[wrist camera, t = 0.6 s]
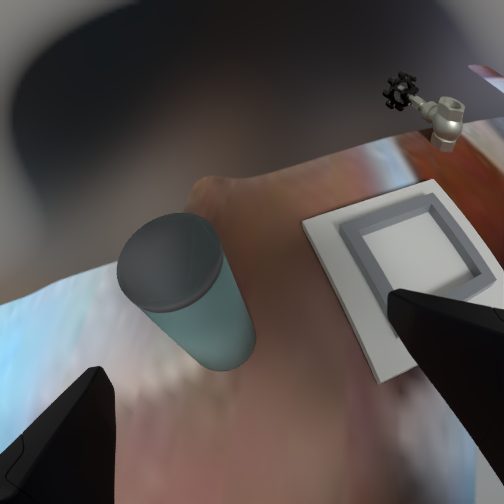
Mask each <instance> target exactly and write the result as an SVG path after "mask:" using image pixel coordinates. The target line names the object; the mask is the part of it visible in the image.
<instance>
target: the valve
mask: <svg viewBox="0 0 504 504" xmlns="http://www.w3.org/2000/svg"><path fill="white" fill-rule="evenodd" d="M398 76H399V77H398V79H395V78H393V77H390V78H389V79H388V83H389V84H390V85H391V87H390V89H389V90H387V89H385V90H384V91H383V95H384V96H385V97H386V98H388V99H389V100H388V101H387V102H386V106H388V107H389V108H390V109H393V108H394V107H393V104H395V108H396V109H397V110H399V111H402V110H403V109H404V107H406V106H408V105H412V106H413V107H415V108H416V109H418V110H420V111H421V112H422V118H423V119H424V120H426V121H427V122H428V123H432V126H433V130H434V131H433V133H432V137H431V141H430V143H431V144H432V145H434V146H435V147H436V148H437V149H438V150H439V151H445V152H453V149H454V146H455V143H456V139H458V138H459V136H460V135H461V133H462V128H463V124H462V117H463V113H464V109H465V106H464V105H463V104H462V103H461V102H459V101H457V100H455V99H453V98H450V97H441V99H440V100H439V104H438V105H437V104H436V103H435V102H432V101H431V102H428V103H426V101H424V100H423V99H421V98H420V97H418V96H415V94H416V93H417V92H418V90H419V89H418V87H416V86H415V85H414V84H412V81H414V82H416V77H415V76H413V75H411V74H409V75H408V74H407V73H405V72H404V71H399V73H398ZM405 76H407V78H405ZM402 82H406V83H407V86H408V88H406V87H403V86H399V87H398V88H397V86H398V85H399V84H400V83H402ZM394 91H396V94H397V95H398V96H399V97H400V98H401V99H400V100H395V98H394Z"/></svg>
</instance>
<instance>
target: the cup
mask: <svg viewBox="0 0 504 504" xmlns="http://www.w3.org/2000/svg"><path fill="white" fill-rule="evenodd" d="M117 279H118V283H119V286H120V288H121V290H122V291H123V293H124V294H125V295H126V296H127V297H128V298H129V299H130V300H131V301H132V302H133V303H134V304H135V305H136V306H138V307H139V308H140V309H141V310H142V311H143V312H144V313H145V314H146V315H147V316H148V317H149V318H150V319H151V320H152V321H153V322H154V323H156V324H157V325H158V326H159V327H160V328H161V329H162V330H163V331H164V332H165V333H166V334H167V335H168V336H169V337H170V338H172V339H173V340H174V341H175V342H176V343H177V344H178V345H179V346H180V347H181V348H183V349H184V350H185V351H186V352H187V353H188V354H189V355H190V356H192V357H193V358H194V359H195V360H196V361H197V362H198V363H200V364H201V365H202V366H204V367H205V368H207V369H210V370H213V371H228V370H232V369H234V368H237V367H238V366H240V365H242V364H243V363H244V362H245V361H246V360H247V359H248V358H249V357H250V355H251V354H252V352H253V350H254V347H255V343H256V332H255V328H254V326H253V323H252V321H251V318H250V316H249V314H248V311H247V309H246V306H245V304H244V301H243V299H242V296H241V294H240V291H239V289H238V286H237V284H236V281H235V279H234V277H233V274H232V271H231V269H230V266H229V264H228V261H227V259H226V256H225V254H224V251H223V247H222V243H221V241H220V238H219V236H218V233H217V231H216V230H215V228H214V227H213V226H212V224H211V223H209V222H208V221H207V220H205V219H204V218H202V217H200V216H197V215H194V214H189V213H173V214H168V215H164V216H161V217H159V218H156V219H154V220H152V221H150V222H148V223H147V224H145V225H144V226H142V227H141V228H140V229H139V230H137V231H136V232H135V233H134V234H133V235H132V237H131V238H130V239H129V240H128V242H127V243H126V244H125V246H124V248H123V250H122V252H121V254H120V257H119V260H118V265H117Z"/></svg>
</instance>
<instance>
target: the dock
mask: <svg viewBox="0 0 504 504" xmlns="http://www.w3.org/2000/svg"><path fill="white" fill-rule="evenodd" d="M302 228H303V230H304V232H305V233H306V235H307V237H308V239H309V241H310V243H311V245H312V247H313V249H314V251H315V253H316V255H317V257H318V259H319V261H320V263H321V265H322V267H323V269H324V271H325V273H326V275H327V277H328V279H329V281H330V283H331V285H332V287H333V289H334V291H335V293H336V295H337V297H338V299H339V301H340V303H341V305H342V307H343V309H344V312H345V314H346V316H347V318H348V320H349V322H350V324H351V326H352V329H353V331H354V333H355V335H356V337H357V339H358V341H359V344H360V346H361V348H362V350H363V352H364V355H365V357H366V359H367V361H368V364H369V366H370V368H371V370H372V373H373V375H374V377H375V379H376V382H377V384H378V385H379V384H381V383H383V382H385V381H388V380H390V379H392V378H394V377H396V376H398V375H400V374H402V373H404V372H406V371H408V370H409V369H411V368H413V367H415V366H417V365H418V364H417V363H416V362H415V361H414V359H413V358H412V357H411V355H410V354H409V352H408V351H407V349H406V348H405V346H404V344H403V343H402V341H401V340H400V338H399V336H398V335H397V333H396V332H395V330H394V328H393V327H392V325H391V324H390V322H389V320H388V317H387V297H388V293H389V292H390V291H393V290H396V289H398V288H402V289H406V290H411V291H416V292H421V293H426V294H431V295H436V296H441V297H445V298H450V299H455V300H460V301H465V302H470V303H475V304H480V305H485V306H490V307H492V308H493V307H495V308H500V309H504V271H503V269H502V268H501V266H500V265H499V263H498V262H497V260H496V259H495V257H494V256H493V254H492V253H491V251H490V250H489V249H488V247H487V246H486V244H485V243H484V242H483V240H482V239H481V237H480V236H479V235H478V233H477V232H476V231H475V229H474V228H473V227H472V225H471V224H470V223H469V221H468V220H467V219H466V217H465V216H464V215H463V214H462V212H461V211H460V210H459V209H458V207H457V206H456V205H455V204H454V203H453V201H452V200H451V199H450V198H449V196H448V195H447V194H446V193H445V192H444V191H443V189H442V188H441V187H440V186H439V185H438V184H437V183H436V181H435V180H434V179H431V180H428V181H425V182H422V183H419V184H415V185H412V186H409V187H406V188H403V189H400V190H396V191H393V192H390V193H387V194H384V195H381V196H378V197H374V198H371V199H368V200H365V201H362V202H359V203H356V204H353V205H350V206H347V207H343V208H340V209H337V210H334V211H331V212H328V213H325V214H322V215H319V216H316V217H313V218H310V219H307V220H304V221H302Z"/></svg>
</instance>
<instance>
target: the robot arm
mask: <svg viewBox="0 0 504 504" xmlns="http://www.w3.org/2000/svg"><path fill="white" fill-rule="evenodd" d="M387 317H388V320H389V322H390V324H391V325H392V327H393V328H394V330H395V332H396V333H397V335H398V336H399V338H400V340H401V341H402V343H403V344H404V346H405V348H406V349H407V351H408V352H409V354H410V355H411V357H412V358H413V359H414V361H415V362H416V363H417V364H418V366H419V367H420V368H421V370H422V371H423V372H424V373H425V375H426V376H427V377H428V379H429V380H430V381H431V383H432V384H433V385H434V387H435V388H436V389H437V391H438V392H439V393H440V395H441V396H442V397H443V399H444V400H445V401H446V403H447V404H448V405H449V407H450V408H451V410H452V411H453V412H454V414H455V415H456V416H457V418H458V419H459V421H460V422H461V423H462V425H463V426H464V428H465V429H466V430H467V432H468V433H469V435H470V436H471V437H472V439H473V440H474V442H475V443H476V445H477V446H478V447H479V449H480V451H481V452H482V454H483V455H484V457H485V458H486V460H487V461H488V463H489V464H490V466H491V467H492V468H493V470H494V472H495V473H496V475H497V476H498V478H499V479H500V481H501V482H502V484H503V486H504V309H500V308H495V307H493V308H492V307H490V306H485V305H480V304H475V303H470V302H465V301H460V300H455V299H450V298H445V297H441V296H436V295H431V294H426V293H421V292H416V291H411V290H406V289H402V288H398V289H396V290H393V291H390V292H389V293H388V297H387ZM115 449H116V417H115V391H114V387H113V385H112V383H111V382H110V380H109V378H108V376H107V374H106V373H105V371H104V369H103V368H102V367H101V366H96V367H90V368H88V369H87V370H86V371H85V372H84V373H83V374H82V375H81V376H80V377H79V378H78V379H77V380H76V381H74V382H73V383H72V384H71V385H70V386H69V387H68V388H67V389H66V390H65V391H64V392H63V393H62V394H61V395H60V396H59V397H58V398H57V399H56V400H55V401H54V402H53V403H52V404H51V405H50V406H49V407H48V408H47V409H46V410H45V411H44V412H43V413H42V414H41V415H40V416H39V417H38V418H37V419H36V420H35V421H34V422H33V423H32V424H31V425H30V426H29V427H28V428H27V429H26V430H25V431H24V432H23V434H21V435H20V436H19V437H18V438H17V439H16V440H15V441H14V442H13V443H12V444H11V445H10V446H8V447H7V448H6V449H5V450H4V451H3V452H2V453H1V454H0V504H114V480H115Z"/></svg>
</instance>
